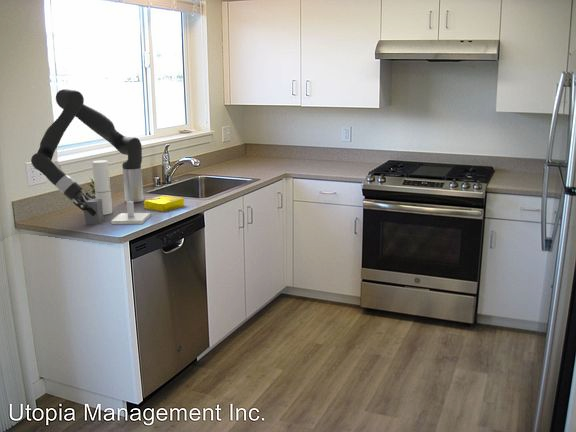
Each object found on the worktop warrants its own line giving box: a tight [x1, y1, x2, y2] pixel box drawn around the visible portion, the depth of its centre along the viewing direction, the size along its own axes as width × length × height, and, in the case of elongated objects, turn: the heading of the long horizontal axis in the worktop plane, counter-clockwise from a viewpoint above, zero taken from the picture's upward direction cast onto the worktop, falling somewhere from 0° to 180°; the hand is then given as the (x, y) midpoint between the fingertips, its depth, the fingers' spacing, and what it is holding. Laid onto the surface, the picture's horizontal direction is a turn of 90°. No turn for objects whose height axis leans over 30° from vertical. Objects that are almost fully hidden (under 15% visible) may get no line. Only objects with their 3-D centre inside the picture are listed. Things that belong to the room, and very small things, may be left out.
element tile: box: [143, 194, 185, 212], centre depth 297 cm, size 15×15×5 cm
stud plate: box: [110, 201, 151, 225], centre depth 272 cm, size 14×14×8 cm
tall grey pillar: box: [83, 199, 105, 225], centre depth 270 cm, size 6×6×10 cm
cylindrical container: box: [91, 159, 113, 216], centre depth 285 cm, size 7×7×25 cm
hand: (97, 212), depth 270 cm, fingers closed on tall grey pillar, 6 cm apart
